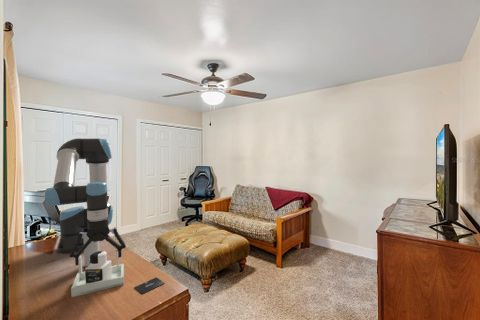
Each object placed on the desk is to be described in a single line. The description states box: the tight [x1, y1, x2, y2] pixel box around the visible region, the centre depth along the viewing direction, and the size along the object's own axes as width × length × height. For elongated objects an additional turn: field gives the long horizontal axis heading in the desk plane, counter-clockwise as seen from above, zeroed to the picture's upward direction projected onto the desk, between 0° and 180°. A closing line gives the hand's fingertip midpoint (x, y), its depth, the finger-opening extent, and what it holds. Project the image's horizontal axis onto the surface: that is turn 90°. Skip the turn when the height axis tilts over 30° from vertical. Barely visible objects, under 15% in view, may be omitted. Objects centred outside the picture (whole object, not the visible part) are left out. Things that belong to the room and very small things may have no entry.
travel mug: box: [83, 227, 100, 269], centre depth 115 cm, size 6×7×20 cm
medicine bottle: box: [84, 250, 113, 284], centre depth 99 cm, size 7×7×12 cm
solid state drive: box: [133, 276, 165, 295], centre depth 97 cm, size 7×10×1 cm
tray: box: [70, 263, 125, 298], centre depth 100 cm, size 13×18×4 cm
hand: (99, 268), depth 99 cm, fingers open, 13 cm apart
